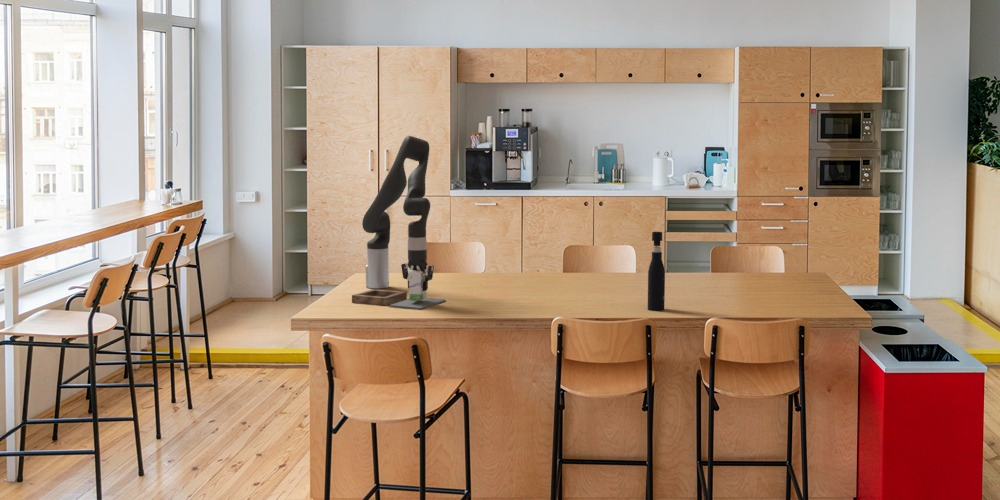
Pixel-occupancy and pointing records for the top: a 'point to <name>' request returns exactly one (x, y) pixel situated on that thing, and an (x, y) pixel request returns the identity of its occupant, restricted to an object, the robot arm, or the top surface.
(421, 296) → the ink box
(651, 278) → the wine bottle
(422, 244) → the robot arm
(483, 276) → the top surface
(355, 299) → the frame
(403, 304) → the rubber mat
